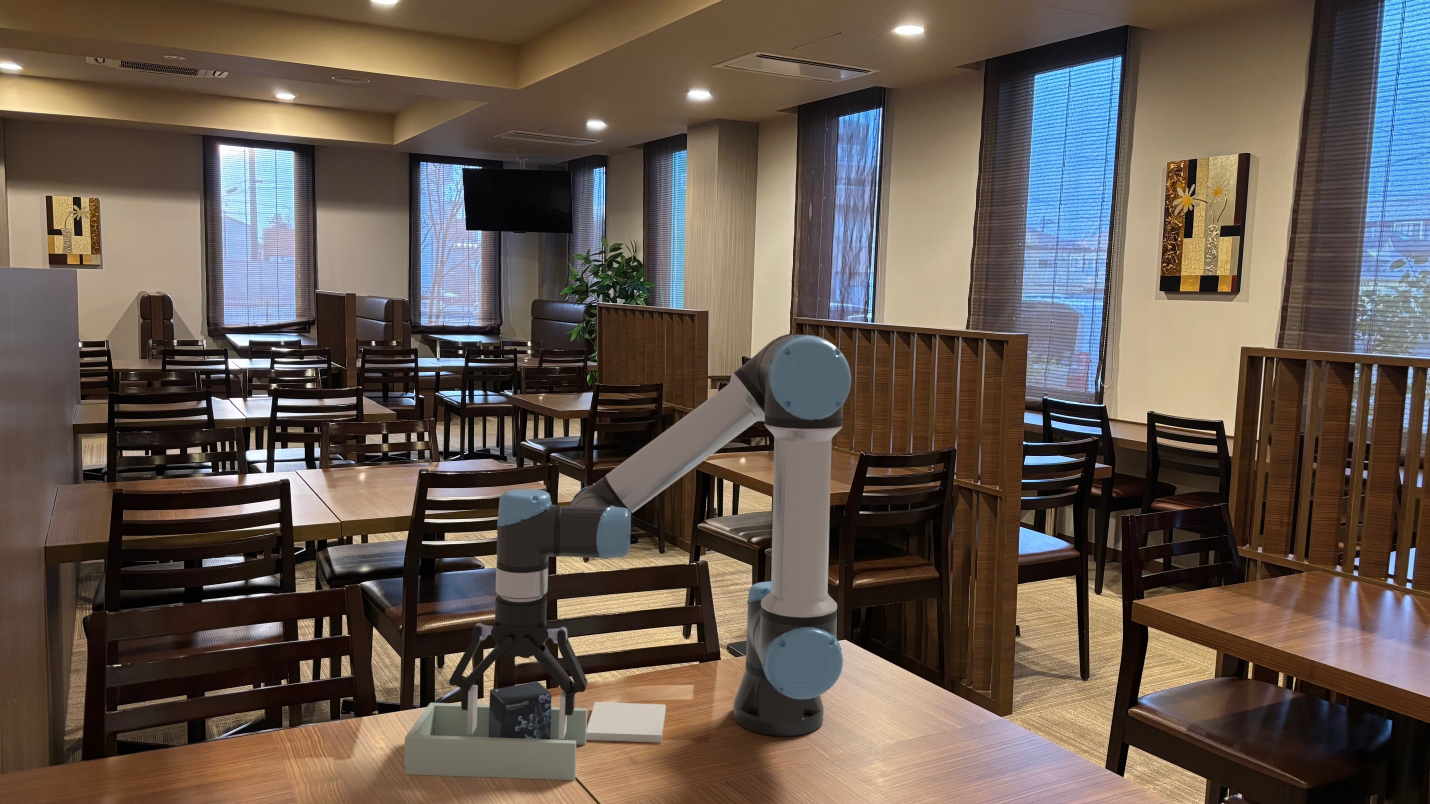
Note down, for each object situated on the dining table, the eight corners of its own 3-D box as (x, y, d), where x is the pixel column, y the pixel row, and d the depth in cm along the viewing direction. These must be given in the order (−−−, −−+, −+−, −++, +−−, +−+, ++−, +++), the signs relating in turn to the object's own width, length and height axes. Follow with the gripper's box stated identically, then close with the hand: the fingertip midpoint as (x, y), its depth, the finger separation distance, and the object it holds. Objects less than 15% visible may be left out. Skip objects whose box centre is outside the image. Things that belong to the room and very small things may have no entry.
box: (501, 772, 144) (502, 702, 143) (487, 756, 149) (488, 688, 148) (551, 760, 148) (552, 692, 147) (536, 745, 153) (537, 679, 152)
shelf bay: (586, 741, 155) (587, 708, 154) (574, 780, 142) (575, 743, 142) (430, 736, 155) (430, 702, 154) (404, 774, 142) (404, 737, 142)
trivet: (665, 711, 167) (665, 704, 167) (661, 742, 155) (661, 735, 155) (594, 708, 167) (595, 701, 167) (585, 739, 155) (585, 732, 155)
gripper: (608, 591, 150) (603, 726, 152) (444, 583, 150) (441, 717, 152) (602, 606, 142) (597, 747, 144) (429, 597, 142) (426, 739, 144)
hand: (517, 732), depth 148 cm, fingers open, 13 cm apart
